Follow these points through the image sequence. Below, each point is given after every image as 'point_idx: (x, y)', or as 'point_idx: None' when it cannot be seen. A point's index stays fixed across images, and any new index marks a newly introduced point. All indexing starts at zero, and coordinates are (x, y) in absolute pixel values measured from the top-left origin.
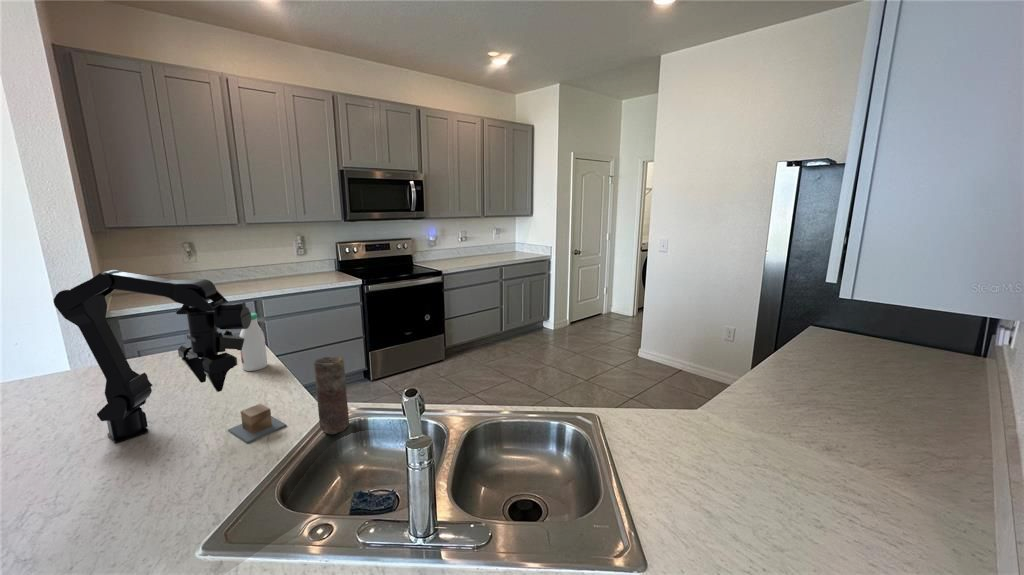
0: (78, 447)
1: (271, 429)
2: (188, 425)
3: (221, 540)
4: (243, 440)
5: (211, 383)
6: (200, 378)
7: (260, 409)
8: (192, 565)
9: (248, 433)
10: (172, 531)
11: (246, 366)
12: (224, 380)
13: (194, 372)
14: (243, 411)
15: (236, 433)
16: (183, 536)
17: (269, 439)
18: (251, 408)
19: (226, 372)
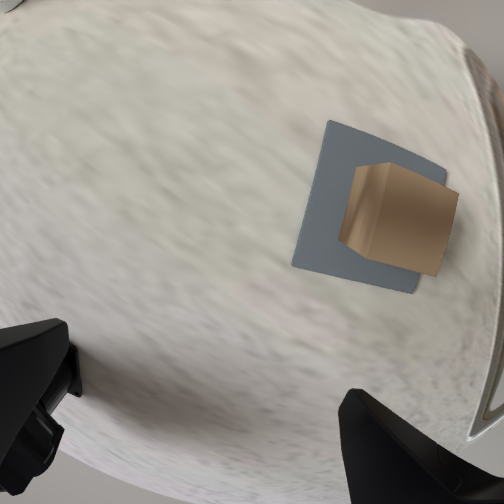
0: None
1: None
2: (122, 286)
3: (482, 423)
4: (392, 288)
5: (350, 490)
6: (50, 369)
7: (432, 212)
8: (470, 444)
9: None
10: None
11: (7, 2)
12: (425, 436)
13: (19, 430)
14: (380, 255)
15: (346, 274)
16: (445, 445)
17: (446, 249)
18: (392, 218)
19: (493, 481)
